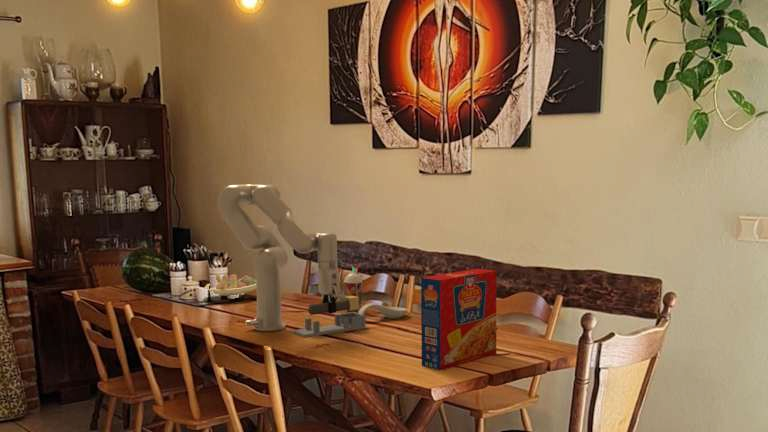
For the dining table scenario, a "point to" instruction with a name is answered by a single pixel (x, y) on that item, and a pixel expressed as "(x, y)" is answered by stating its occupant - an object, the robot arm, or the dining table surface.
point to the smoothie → (353, 287)
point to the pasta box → (458, 317)
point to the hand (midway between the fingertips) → (329, 311)
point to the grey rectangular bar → (345, 304)
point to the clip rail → (341, 324)
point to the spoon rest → (385, 310)
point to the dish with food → (233, 285)
